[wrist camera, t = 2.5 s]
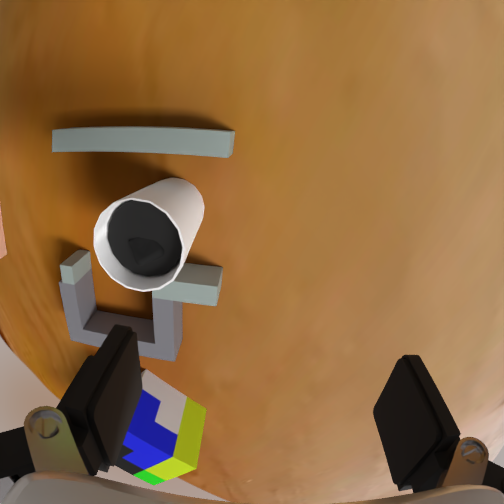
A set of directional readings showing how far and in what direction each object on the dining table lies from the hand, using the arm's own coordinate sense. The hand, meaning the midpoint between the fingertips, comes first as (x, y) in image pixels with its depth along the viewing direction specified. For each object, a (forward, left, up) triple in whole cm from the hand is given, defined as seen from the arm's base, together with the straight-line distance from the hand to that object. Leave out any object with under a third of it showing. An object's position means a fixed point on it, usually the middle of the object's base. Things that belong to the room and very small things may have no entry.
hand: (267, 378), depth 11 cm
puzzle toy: (+11, +28, -21) cm, 37 cm away
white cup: (+8, 0, -21) cm, 22 cm away
